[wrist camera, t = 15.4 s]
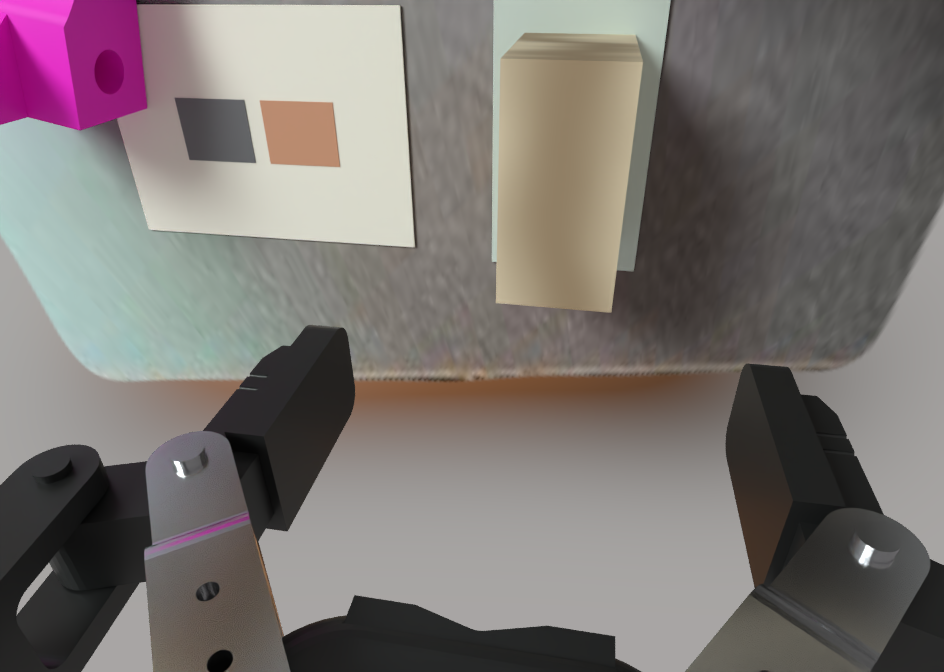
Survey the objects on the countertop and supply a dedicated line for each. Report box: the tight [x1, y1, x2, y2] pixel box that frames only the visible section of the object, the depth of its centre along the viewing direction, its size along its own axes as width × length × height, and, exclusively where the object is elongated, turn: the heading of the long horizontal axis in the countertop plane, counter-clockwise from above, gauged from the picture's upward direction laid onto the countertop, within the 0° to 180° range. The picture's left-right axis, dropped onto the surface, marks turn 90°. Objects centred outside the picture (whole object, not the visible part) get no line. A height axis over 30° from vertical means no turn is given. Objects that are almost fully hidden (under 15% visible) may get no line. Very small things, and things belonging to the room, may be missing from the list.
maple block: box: [496, 33, 643, 313], centre depth 26 cm, size 4×9×7 cm, turn 0°
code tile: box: [117, 4, 415, 247], centre depth 31 cm, size 11×15×1 cm
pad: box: [492, 0, 671, 271], centre depth 29 cm, size 12×7×1 cm, turn 0°
